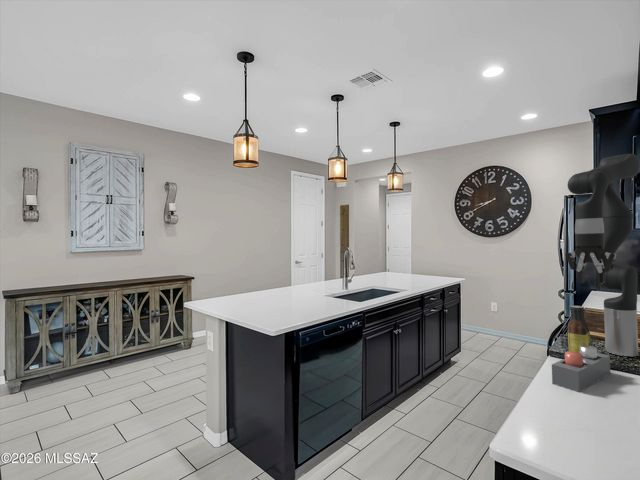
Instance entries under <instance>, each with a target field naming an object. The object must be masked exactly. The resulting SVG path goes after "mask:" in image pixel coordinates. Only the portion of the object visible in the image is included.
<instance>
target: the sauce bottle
mask: <svg viewBox="0 0 640 480" xmlns="http://www.w3.org/2000/svg"><path fill="white" fill-rule="evenodd" d="M569 311H570V320H569V321H568V323H567V341H568V342H567V343H568V351H572V352H578V353H579V352H580V346H581V345H588V346H592V345H591V334H590V333H591V332H590V331H591V330H590V328H589V326H588V323H587V321H586V319H585V307H584V306H581V305H570V306H569Z"/></svg>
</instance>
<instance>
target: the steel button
mask: <svg viewBox="0 0 640 480" xmlns="http://www.w3.org/2000/svg"><path fill="white" fill-rule="evenodd" d="M580 353H581V354H582V355H583V358H586V359H590V360H594V361H595V360H597V353H598V347H595V346H592V345H591V346H588V345H581V346H580Z"/></svg>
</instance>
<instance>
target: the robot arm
mask: <svg viewBox="0 0 640 480" xmlns="http://www.w3.org/2000/svg"><path fill="white" fill-rule="evenodd" d="M639 171H640V159H639V157H638V156H637V155H636V154H634V153H624V154H618V155H613V156H607V157H603V158H601V159H600V162H599V165H598V166H597V167H595V168H592V169H590V170H587V171H582V172H578V173H575V174H573V175H571V177H570V178H569V179H568V181H567V190H568V191H569V192H570V193H571V194H573V195H578V196H579V195H588V194H591V195H590V197H589V198H588V199H586V200H581V201H579V202H577V203H576V204H575V206H574V207H575V208H574V209H575V224H574V235H575V238H574V239H575V250H574V251H571V252H566V253H565V257H566V260H567V263H568V265H569V268H570V270H573V271H576V273H577V281H578V282H579V283H580V284H585V283H586V276H585V275H586V274H585V273H586V272H585V271H584V270H585V269H586V266H587V264H588V263H591V264H593V265H594V266H595V268H596V270H597V275H596V276H597V277H596V278H597V285H598V286H599V287H600V288H601V289H605V290H614V291H621V294H620V295H619V296H614V297H608V298H605V299H604V300H603V315H604V316H603V317H604V345H605V346H604V349H605V350H606V351H607V352H609V353H612V354H618V355H624V356H638V357H639V335H638V332H639V331H638V309H637V308H638V306H637V305H638V284H639V283H638V282H639V281H638V276H639V275H638V271H637V269H636V268H635V267H634V266H633V265H632V266H631V265H619V264H617V265H615V264H616V261H617V258H618V253H616V252H617V251H618V249H619V248H620V247H621V245H623V244H624V243H625V241H626V240H627V238H628V237H629V236H630V234H631V233H632V230H633V213H632V211H631V209H630V208H629V206H628V205H627V204H626V203H625V202H624V200H622V199H621V198H620V196H619V195H618V194H617V192H616V191H615V188H614V182H617V181H619V180H626V179H631V178H633V177H635V176H637V175H638V174H639ZM576 257H577V258H578V259H579V260H578V262H576ZM606 351H605V352H606ZM607 352H606V353H607ZM609 353H608V354H609Z"/></svg>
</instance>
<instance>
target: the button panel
mask: <svg viewBox="0 0 640 480" xmlns="http://www.w3.org/2000/svg"><path fill="white" fill-rule="evenodd" d="M579 353H580V352H579ZM610 375H611V355H610V354H609V355H608V354H603V353H599V352H597V360H595V361H594V360H590V359H586V358H583V367H581V368H578V367H574V366H570V365H567V364H565V358H563V359H561V360H558V361H556V362H554V363H552V364H551V377H552V378H551V380H552V381H551V382H552V383H551V384H552V385H555V386H559V387H562V388H565V389H567V390H568V389H569V390H571V391H573V392H576V393H580V392H582V391H585V389H587V388H588V387H591V386H592V385H594V384H596V383H598V382H599V381H602V379H605V378H606V377H608V376H610Z"/></svg>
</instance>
